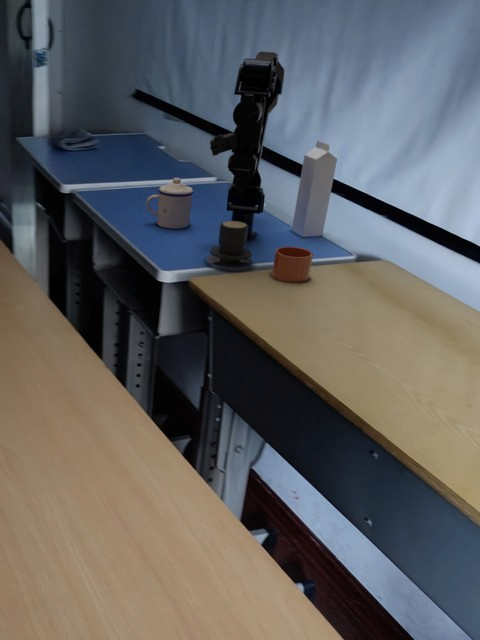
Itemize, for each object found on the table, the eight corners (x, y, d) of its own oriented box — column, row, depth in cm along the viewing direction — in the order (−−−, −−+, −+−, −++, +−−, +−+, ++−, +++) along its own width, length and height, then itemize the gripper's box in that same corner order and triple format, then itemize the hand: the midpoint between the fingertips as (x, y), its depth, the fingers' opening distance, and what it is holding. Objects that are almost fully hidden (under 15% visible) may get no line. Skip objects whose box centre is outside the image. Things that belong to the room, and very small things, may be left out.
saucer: (216, 254, 202) (216, 250, 201) (259, 262, 197) (259, 258, 197) (198, 265, 194) (199, 262, 193) (243, 274, 189) (243, 271, 189)
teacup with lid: (189, 220, 226) (193, 175, 219) (190, 230, 218) (195, 183, 211) (145, 219, 226) (148, 173, 219) (145, 228, 219) (148, 181, 212)
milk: (302, 237, 216) (318, 145, 203) (291, 231, 220) (306, 140, 208) (322, 236, 217) (340, 144, 204) (311, 229, 222) (327, 140, 209)
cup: (278, 268, 194) (282, 244, 191) (312, 274, 191) (317, 250, 187) (266, 277, 188) (270, 253, 185) (301, 284, 185) (306, 260, 182)
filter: (230, 252, 201) (235, 216, 196) (259, 263, 194) (264, 226, 189) (200, 258, 196) (205, 221, 191) (228, 269, 190) (233, 232, 185)
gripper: (219, 113, 198) (211, 182, 207) (209, 126, 183) (201, 200, 192) (266, 116, 195) (256, 186, 204) (260, 130, 181) (249, 204, 190)
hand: (240, 194), depth 198 cm, fingers open, 9 cm apart
